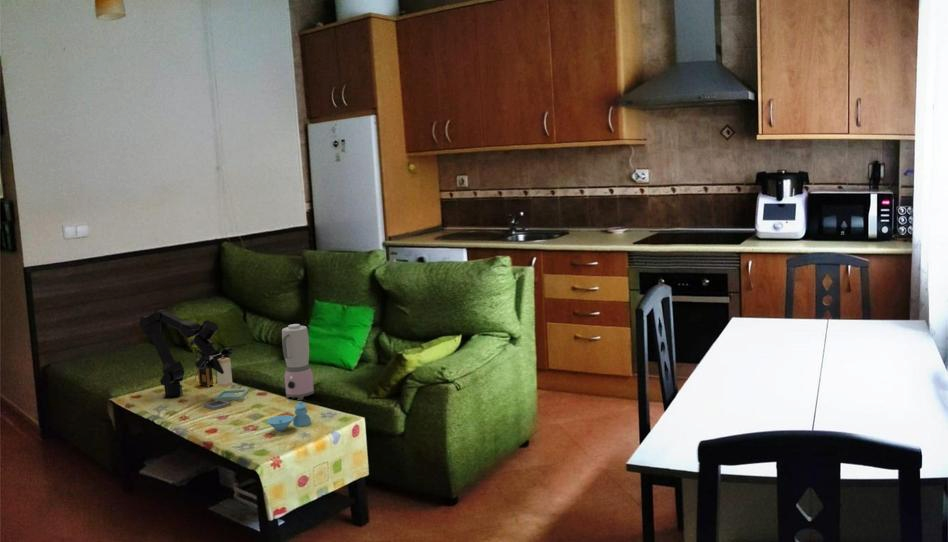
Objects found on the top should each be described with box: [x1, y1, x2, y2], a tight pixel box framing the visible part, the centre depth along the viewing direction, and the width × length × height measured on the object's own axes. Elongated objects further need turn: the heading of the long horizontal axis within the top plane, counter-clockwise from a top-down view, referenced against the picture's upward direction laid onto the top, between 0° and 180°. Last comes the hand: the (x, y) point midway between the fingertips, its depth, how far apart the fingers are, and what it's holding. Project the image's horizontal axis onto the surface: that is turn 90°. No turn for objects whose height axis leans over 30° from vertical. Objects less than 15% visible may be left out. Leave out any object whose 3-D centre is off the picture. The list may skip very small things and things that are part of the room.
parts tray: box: [214, 388, 249, 401], centre depth 366 cm, size 12×12×2 cm
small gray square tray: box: [203, 400, 232, 411], centre depth 352 cm, size 8×9×2 cm
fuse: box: [216, 357, 233, 388], centre depth 358 cm, size 4×4×12 cm
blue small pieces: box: [266, 400, 312, 432], centre depth 318 cm, size 18×10×9 cm, turn 135°
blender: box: [281, 323, 315, 401], centre depth 358 cm, size 16×12×32 cm
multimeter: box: [194, 346, 218, 387], centre depth 390 cm, size 15×10×20 cm
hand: (226, 372), depth 357 cm, fingers closed on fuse, 4 cm apart
